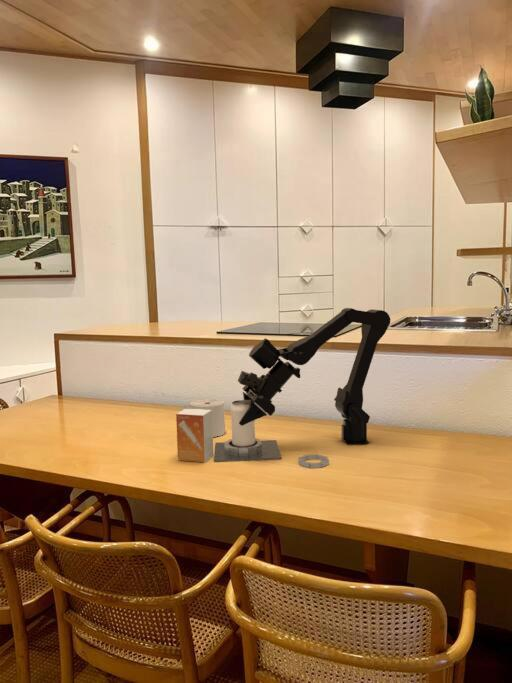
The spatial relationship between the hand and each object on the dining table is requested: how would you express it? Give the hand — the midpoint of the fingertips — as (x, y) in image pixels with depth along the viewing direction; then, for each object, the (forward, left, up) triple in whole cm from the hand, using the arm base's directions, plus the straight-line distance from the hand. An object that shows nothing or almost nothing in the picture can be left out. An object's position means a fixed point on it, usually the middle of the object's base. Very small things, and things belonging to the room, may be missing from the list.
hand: (238, 421), depth 147 cm
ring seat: (-1, 0, -9) cm, 9 cm away
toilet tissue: (+10, -19, -9) cm, 23 cm away
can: (-1, 0, -7) cm, 7 cm away
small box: (+12, +4, -9) cm, 15 cm away
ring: (-19, +12, -9) cm, 24 cm away
